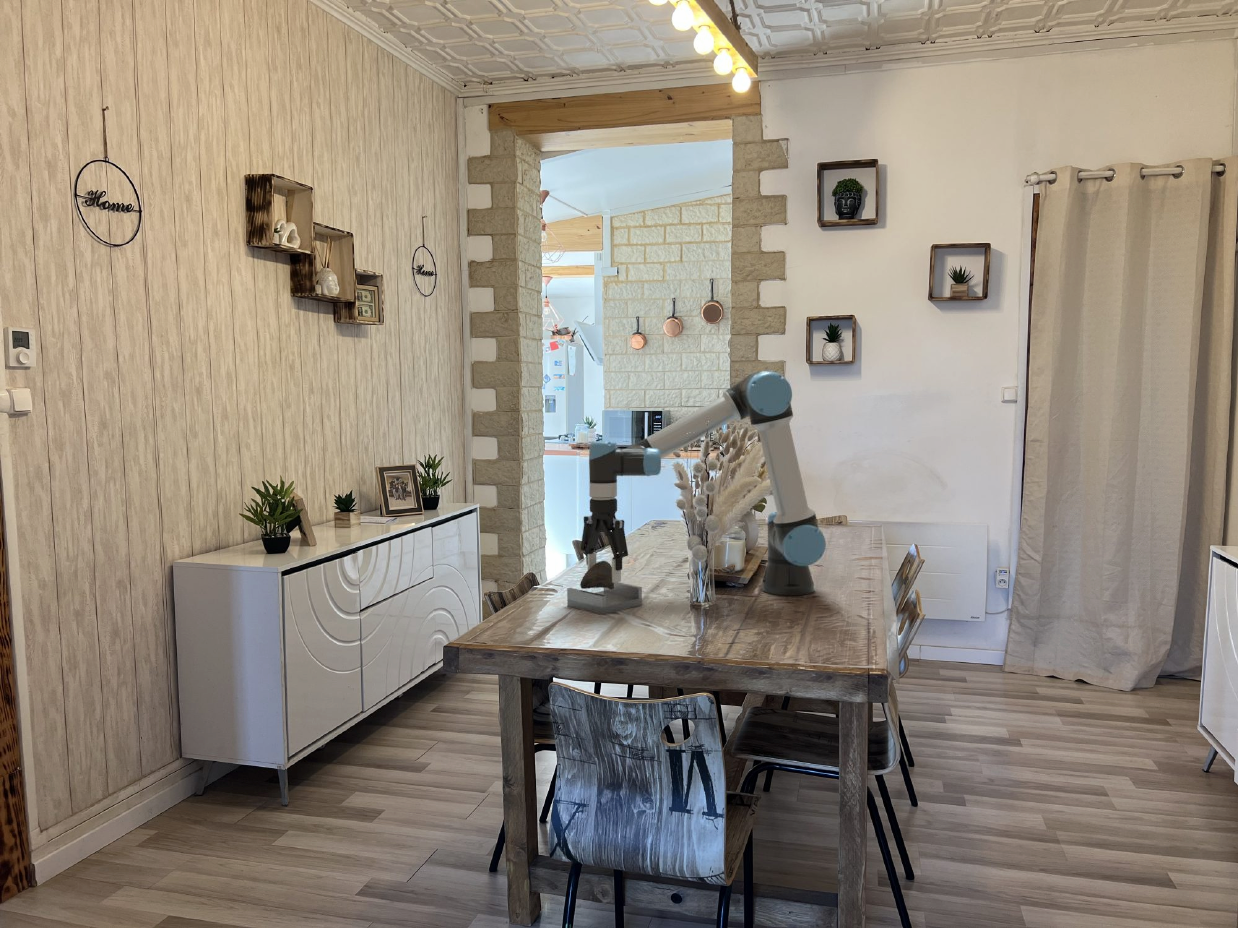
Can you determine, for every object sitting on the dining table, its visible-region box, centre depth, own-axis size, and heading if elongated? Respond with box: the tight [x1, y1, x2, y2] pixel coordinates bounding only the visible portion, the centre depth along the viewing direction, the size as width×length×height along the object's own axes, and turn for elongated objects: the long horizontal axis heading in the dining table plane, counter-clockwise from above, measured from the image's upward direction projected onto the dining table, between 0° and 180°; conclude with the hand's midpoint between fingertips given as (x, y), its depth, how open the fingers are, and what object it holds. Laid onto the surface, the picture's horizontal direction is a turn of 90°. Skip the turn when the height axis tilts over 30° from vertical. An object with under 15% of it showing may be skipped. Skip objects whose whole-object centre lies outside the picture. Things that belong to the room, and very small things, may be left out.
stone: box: [579, 560, 614, 590], centre depth 247 cm, size 10×8×10 cm
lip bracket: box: [566, 581, 643, 616], centre depth 248 cm, size 14×15×5 cm
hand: (604, 579), depth 247 cm, fingers closed on stone, 9 cm apart
